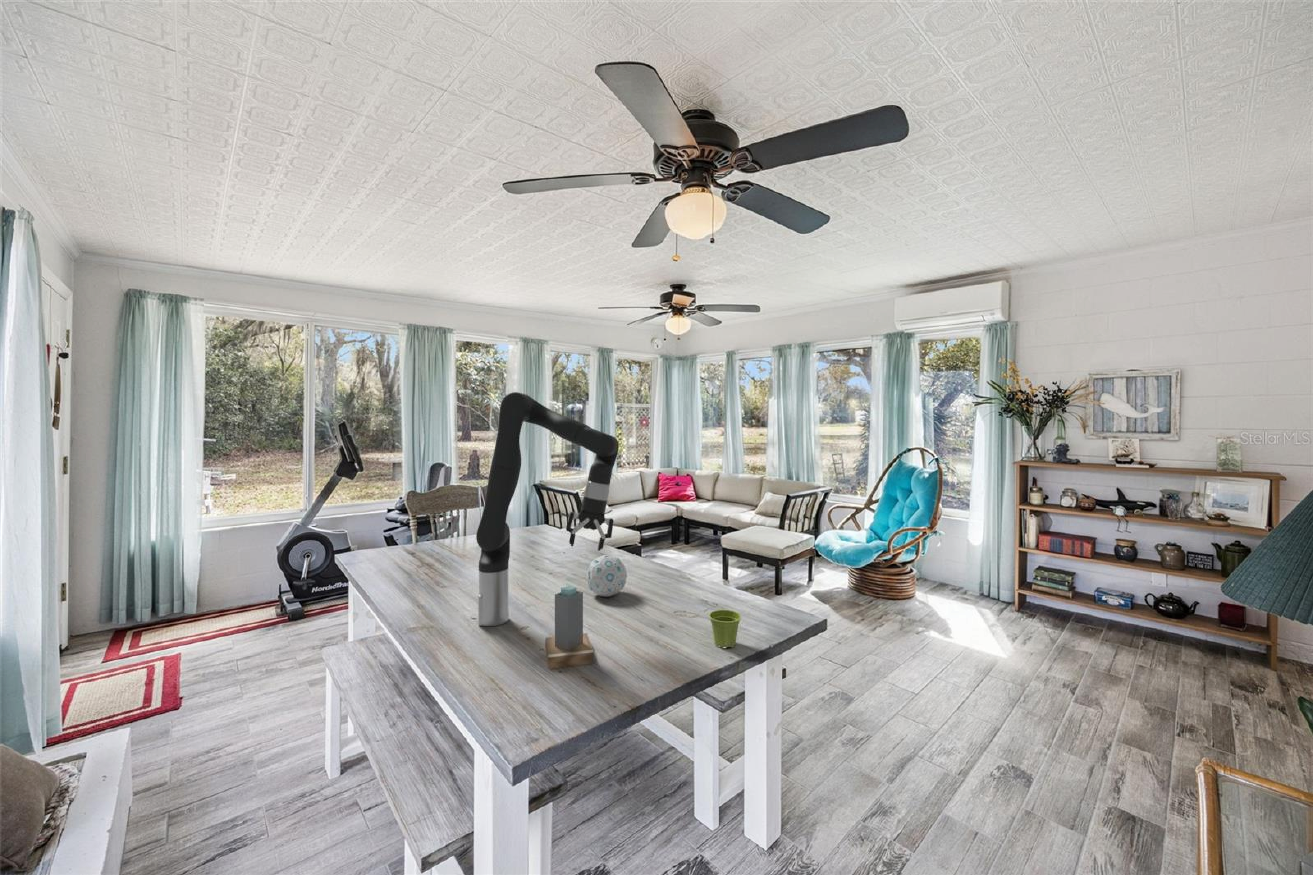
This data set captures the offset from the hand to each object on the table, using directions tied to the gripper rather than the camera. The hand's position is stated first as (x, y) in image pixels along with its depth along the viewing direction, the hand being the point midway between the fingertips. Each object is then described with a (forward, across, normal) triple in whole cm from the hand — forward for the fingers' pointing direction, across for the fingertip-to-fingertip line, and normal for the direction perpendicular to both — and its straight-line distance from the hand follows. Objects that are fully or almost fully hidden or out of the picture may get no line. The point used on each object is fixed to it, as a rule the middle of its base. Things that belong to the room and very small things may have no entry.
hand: (585, 548), depth 160 cm
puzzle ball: (+22, +14, +32) cm, 41 cm away
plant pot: (+18, +44, -17) cm, 51 cm away
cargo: (+11, -3, -16) cm, 20 cm away
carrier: (+24, -1, -16) cm, 29 cm away
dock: (+27, 0, -16) cm, 31 cm away
